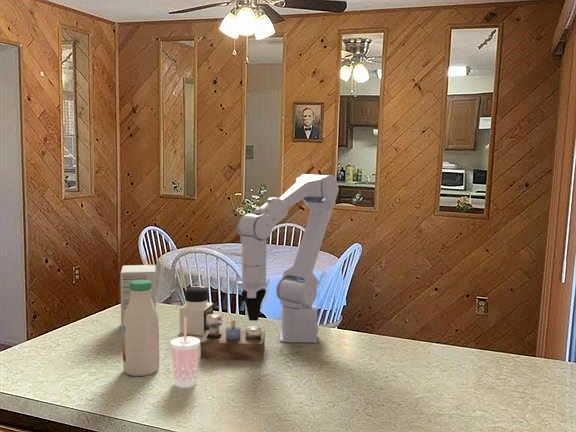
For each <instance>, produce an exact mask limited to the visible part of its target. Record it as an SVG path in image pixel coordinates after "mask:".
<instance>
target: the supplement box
mask: <svg viewBox="0 0 576 432" xmlns="http://www.w3.org/2000/svg"><path fill="white" fill-rule="evenodd" d="M119 278H120V280H119V281H120V282H119V283H120V331H121V332H120V334H121V335H123V317H124V313H125V310H126V308H127V306H128V304H129V301H130V297H131V293H130V282H131V281H134V280H149V281H151V285H152V286H151V290H152V291H151V292H150V295H151V299H152V302H153V304H154V306H155V308H156V309H157V293H156V292H157V265H156V264H136V265H135V264H134V265H133V264H131V265H130V264H129V265H127V264H126V265H122V267H121V271H120V277H119Z"/></svg>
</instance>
